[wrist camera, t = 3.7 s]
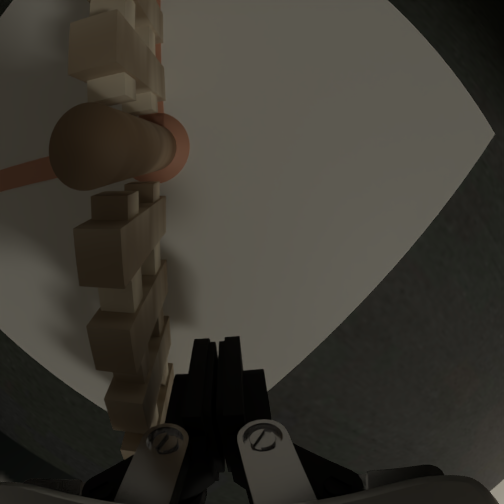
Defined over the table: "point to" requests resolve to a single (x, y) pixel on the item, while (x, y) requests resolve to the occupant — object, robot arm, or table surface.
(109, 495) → the robot arm
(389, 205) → the card
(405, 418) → the table surface
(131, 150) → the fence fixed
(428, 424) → the table surface
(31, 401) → the table surface
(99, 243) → the fence gate
